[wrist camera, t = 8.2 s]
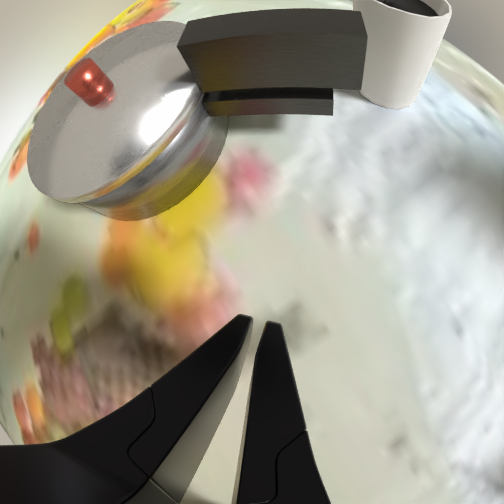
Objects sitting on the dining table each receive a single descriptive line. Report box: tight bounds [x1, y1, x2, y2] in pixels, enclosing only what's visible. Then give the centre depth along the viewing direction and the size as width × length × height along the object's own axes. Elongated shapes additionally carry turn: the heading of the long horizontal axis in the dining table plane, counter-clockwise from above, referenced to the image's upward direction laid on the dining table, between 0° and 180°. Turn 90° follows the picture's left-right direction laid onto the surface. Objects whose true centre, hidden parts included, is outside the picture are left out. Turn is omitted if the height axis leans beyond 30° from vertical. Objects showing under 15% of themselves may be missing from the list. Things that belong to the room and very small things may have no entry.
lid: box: [27, 8, 368, 203], centre depth 14 cm, size 16×25×4 cm, turn 84°
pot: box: [79, 87, 333, 221], centre depth 20 cm, size 15×27×6 cm, turn 84°
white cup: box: [353, 0, 452, 109], centre depth 15 cm, size 7×7×10 cm
